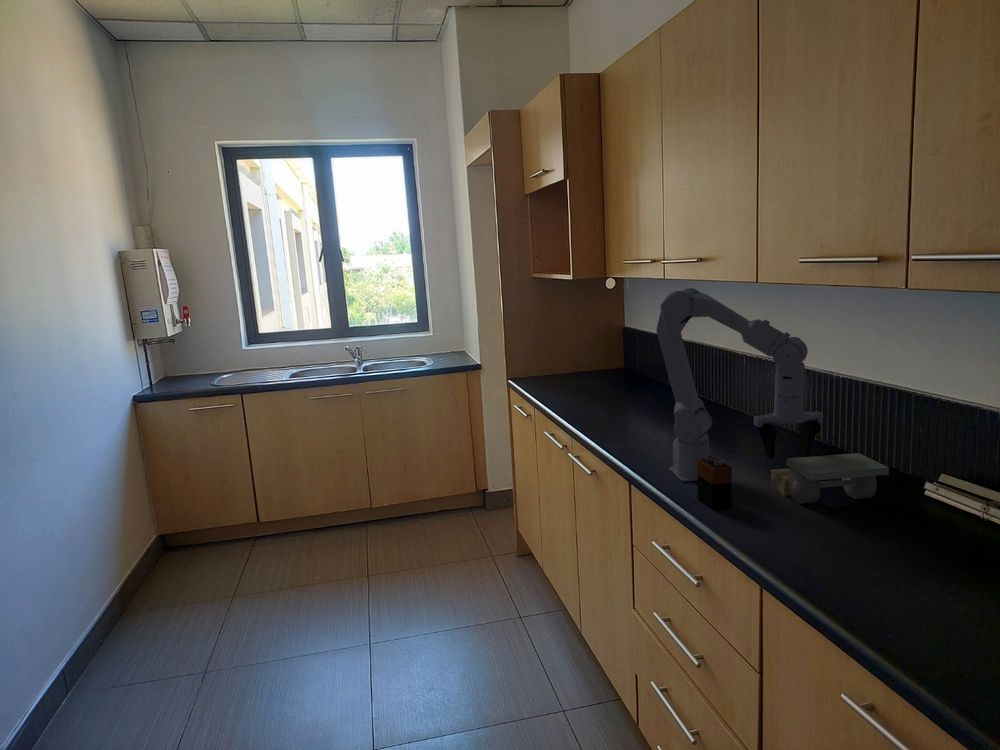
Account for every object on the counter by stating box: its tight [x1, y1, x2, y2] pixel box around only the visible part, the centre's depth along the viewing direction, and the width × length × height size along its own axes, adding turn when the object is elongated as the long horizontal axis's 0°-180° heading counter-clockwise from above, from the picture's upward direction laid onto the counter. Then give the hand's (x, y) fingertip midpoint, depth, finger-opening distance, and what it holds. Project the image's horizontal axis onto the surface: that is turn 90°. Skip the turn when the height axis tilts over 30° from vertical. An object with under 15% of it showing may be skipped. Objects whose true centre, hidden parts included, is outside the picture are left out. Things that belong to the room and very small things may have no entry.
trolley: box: [785, 452, 890, 505], centre depth 132 cm, size 10×16×8 cm, turn 95°
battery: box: [696, 454, 733, 510], centre depth 135 cm, size 4×7×10 cm, turn 12°
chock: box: [770, 468, 793, 497], centre depth 140 cm, size 6×4×4 cm, turn 4°
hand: (786, 455), depth 139 cm, fingers open, 7 cm apart
